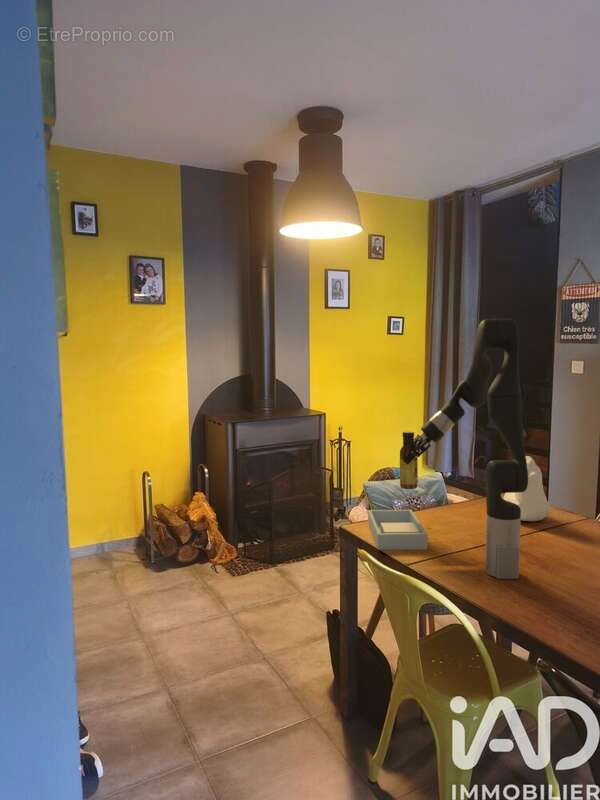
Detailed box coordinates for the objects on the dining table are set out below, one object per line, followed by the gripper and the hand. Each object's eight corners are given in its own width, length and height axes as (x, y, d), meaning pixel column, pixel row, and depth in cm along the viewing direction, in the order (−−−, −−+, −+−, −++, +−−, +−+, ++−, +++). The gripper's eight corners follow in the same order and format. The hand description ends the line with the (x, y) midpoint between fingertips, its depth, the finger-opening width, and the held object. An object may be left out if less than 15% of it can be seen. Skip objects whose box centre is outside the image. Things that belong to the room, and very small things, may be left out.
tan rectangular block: (418, 546, 175) (418, 531, 174) (384, 546, 175) (384, 531, 174) (412, 536, 183) (412, 522, 183) (380, 536, 184) (380, 522, 183)
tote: (427, 552, 172) (427, 534, 172) (377, 552, 172) (377, 534, 172) (411, 525, 198) (411, 509, 197) (368, 525, 198) (368, 510, 198)
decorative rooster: (553, 528, 194) (556, 460, 191) (507, 525, 197) (509, 459, 195) (539, 507, 218) (541, 447, 216) (498, 505, 222) (500, 446, 219)
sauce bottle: (419, 490, 186) (419, 433, 184) (401, 490, 186) (401, 433, 184) (415, 485, 193) (416, 430, 191) (398, 485, 193) (398, 430, 191)
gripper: (425, 416, 194) (393, 449, 196) (434, 422, 180) (399, 457, 181) (440, 431, 195) (407, 463, 196) (450, 437, 180) (414, 472, 182)
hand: (403, 460), depth 189 cm, fingers closed on sauce bottle, 6 cm apart
